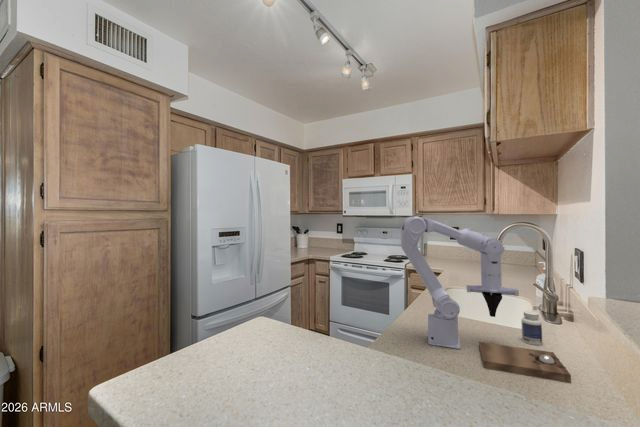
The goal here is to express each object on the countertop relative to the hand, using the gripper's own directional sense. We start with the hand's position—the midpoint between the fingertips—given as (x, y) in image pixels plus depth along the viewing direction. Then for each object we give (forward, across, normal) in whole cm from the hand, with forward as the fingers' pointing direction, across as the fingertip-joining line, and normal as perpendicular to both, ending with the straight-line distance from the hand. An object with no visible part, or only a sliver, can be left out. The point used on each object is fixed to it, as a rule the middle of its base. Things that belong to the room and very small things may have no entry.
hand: (492, 315), depth 93 cm
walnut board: (+9, +5, -11) cm, 15 cm away
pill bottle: (+10, +12, +7) cm, 17 cm away
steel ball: (+8, +11, -11) cm, 18 cm away
